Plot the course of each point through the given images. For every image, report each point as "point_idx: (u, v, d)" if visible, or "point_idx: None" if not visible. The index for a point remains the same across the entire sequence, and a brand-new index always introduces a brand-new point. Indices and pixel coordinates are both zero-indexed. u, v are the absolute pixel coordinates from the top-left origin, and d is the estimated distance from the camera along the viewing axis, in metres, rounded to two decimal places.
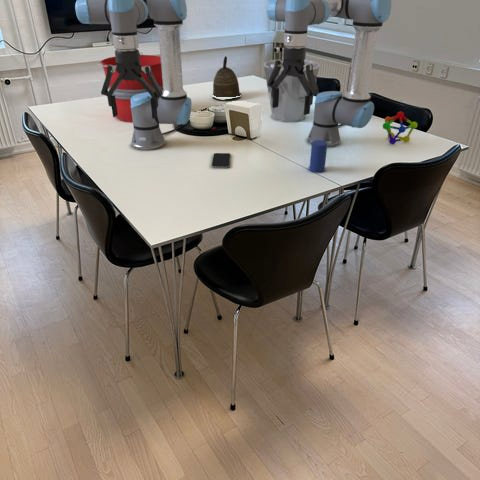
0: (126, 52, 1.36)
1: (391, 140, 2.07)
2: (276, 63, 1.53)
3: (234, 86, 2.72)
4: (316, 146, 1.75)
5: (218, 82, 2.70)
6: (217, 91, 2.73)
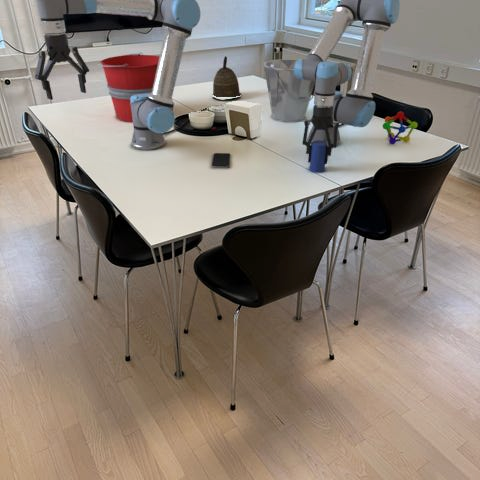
0: (62, 35, 1.54)
1: (391, 140, 2.07)
2: (305, 123, 1.73)
3: (234, 86, 2.72)
4: (316, 146, 1.75)
5: (218, 82, 2.70)
6: (217, 91, 2.73)
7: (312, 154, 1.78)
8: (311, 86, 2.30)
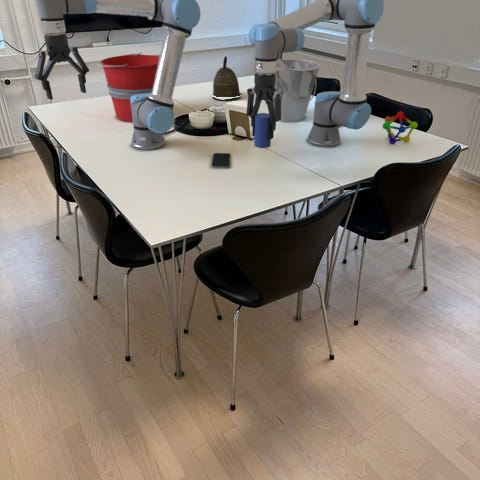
0: (62, 35, 1.54)
1: (391, 140, 2.07)
2: (248, 91, 1.61)
3: (234, 86, 2.72)
4: (257, 118, 1.61)
5: (218, 82, 2.70)
6: (217, 91, 2.73)
7: (255, 127, 1.65)
8: (311, 86, 2.30)
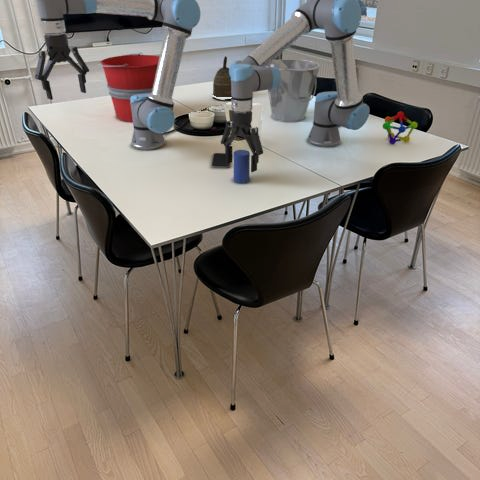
0: (62, 35, 1.54)
1: (391, 140, 2.07)
2: (226, 124, 1.65)
3: None
4: (234, 155, 1.66)
5: (218, 82, 2.70)
6: (217, 91, 2.73)
7: None
8: (311, 86, 2.30)
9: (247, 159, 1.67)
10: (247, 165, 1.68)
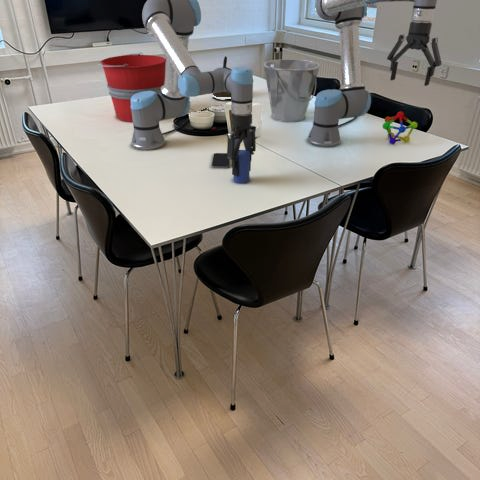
0: (250, 115, 1.58)
1: (391, 140, 2.07)
2: (400, 37, 1.66)
3: None
4: None
5: None
6: None
7: None
8: (311, 86, 2.30)
9: (247, 159, 1.67)
10: (247, 165, 1.68)
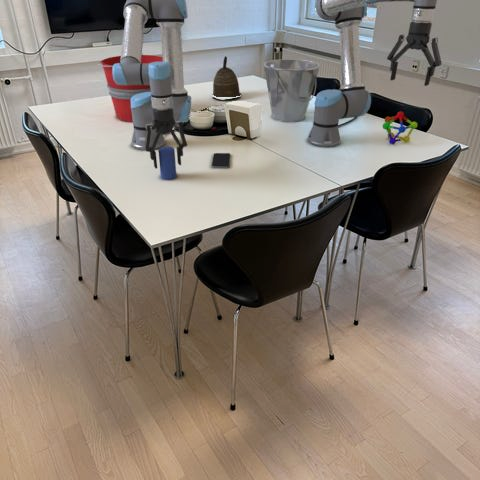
0: (167, 110, 1.59)
1: (391, 140, 2.07)
2: (400, 37, 1.66)
3: (234, 86, 2.72)
4: (158, 150, 1.70)
5: (218, 82, 2.70)
6: (217, 91, 2.73)
7: None
8: (311, 86, 2.30)
9: (168, 156, 1.69)
10: (169, 162, 1.70)
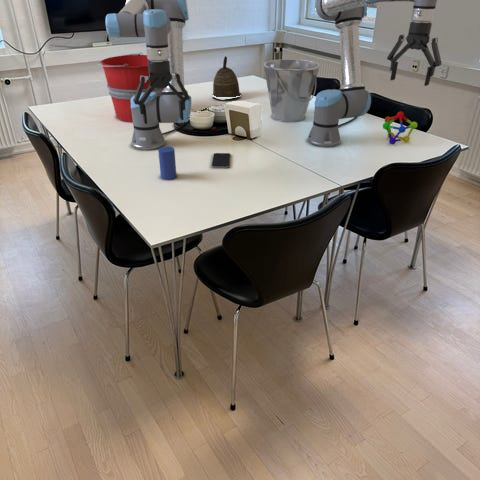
0: (163, 62, 1.51)
1: (391, 140, 2.07)
2: (400, 37, 1.66)
3: (234, 86, 2.72)
4: (158, 150, 1.70)
5: (218, 82, 2.70)
6: (217, 91, 2.73)
7: None
8: (311, 86, 2.30)
9: (168, 156, 1.69)
10: (169, 162, 1.70)
